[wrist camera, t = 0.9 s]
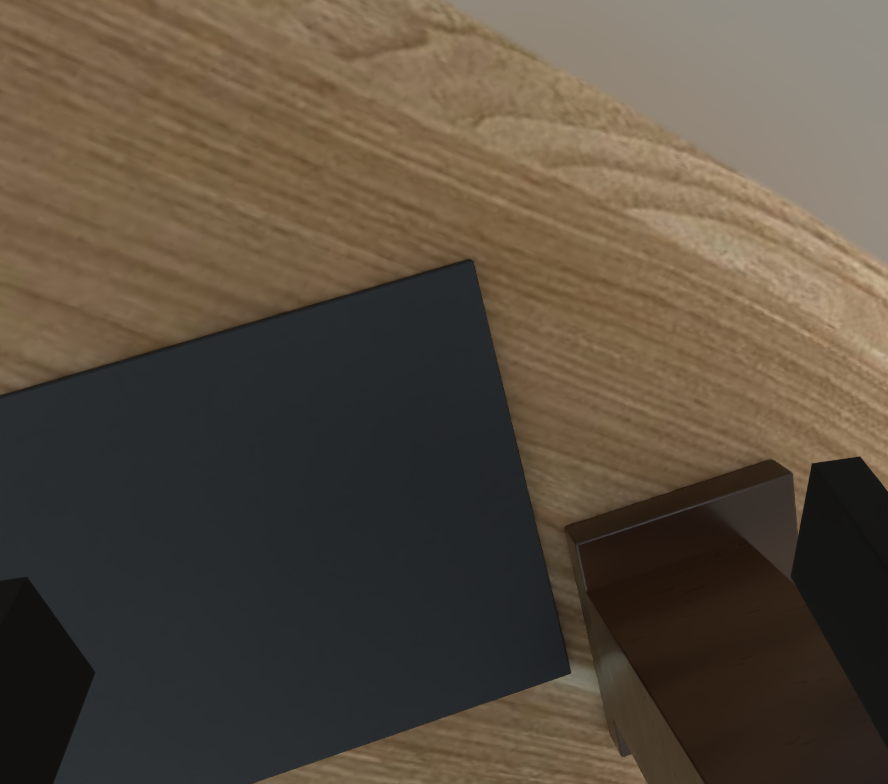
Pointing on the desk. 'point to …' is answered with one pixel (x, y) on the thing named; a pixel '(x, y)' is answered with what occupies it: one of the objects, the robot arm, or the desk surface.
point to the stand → (717, 641)
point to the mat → (282, 536)
